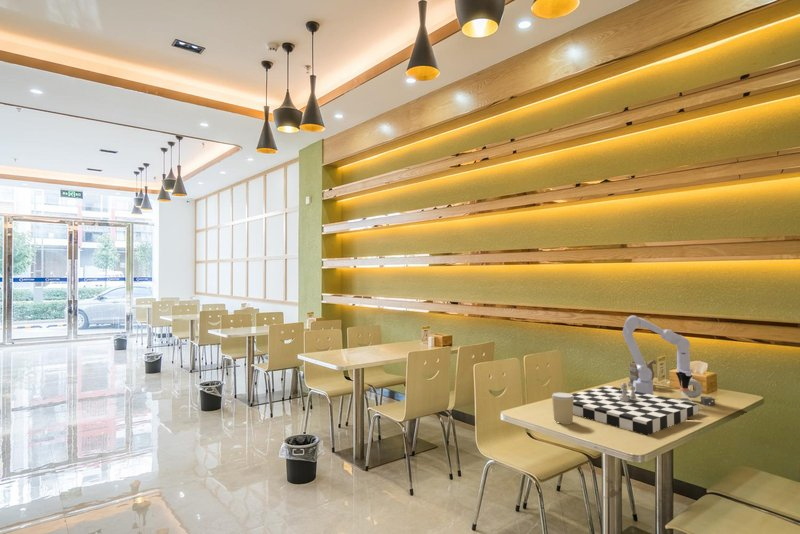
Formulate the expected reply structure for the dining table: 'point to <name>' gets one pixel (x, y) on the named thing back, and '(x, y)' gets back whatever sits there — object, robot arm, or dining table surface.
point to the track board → (688, 401)
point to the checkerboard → (631, 408)
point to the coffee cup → (563, 407)
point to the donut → (697, 390)
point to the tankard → (634, 371)
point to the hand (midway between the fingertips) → (684, 387)
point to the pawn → (683, 388)
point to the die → (708, 401)
